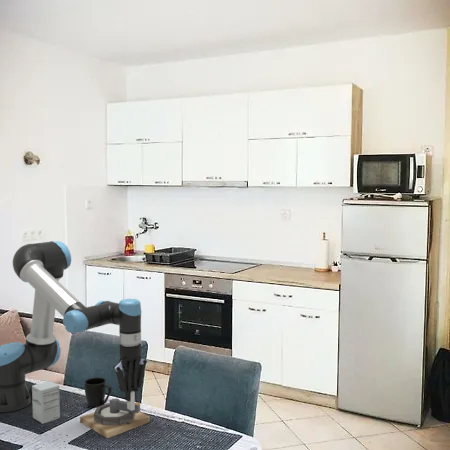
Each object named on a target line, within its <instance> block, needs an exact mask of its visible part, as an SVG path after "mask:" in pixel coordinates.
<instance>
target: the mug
mask: <svg viewBox="0 0 450 450" xmlns="http://www.w3.org/2000/svg"><path fill="white" fill-rule="evenodd" d="M107 389H108V392H107ZM112 390H113V389H112V386H111V385H110V384H107V379H106V378H103V377H92V378H88V379H86V380H85V381H84V395H85V398H86V399H85V400H86V401H87V404H88V407H90V408H97V407H99V406H102V405H105V404H107V402H108V400H109V397H110V396H111V394H112ZM106 393H107V395H106Z"/></svg>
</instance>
